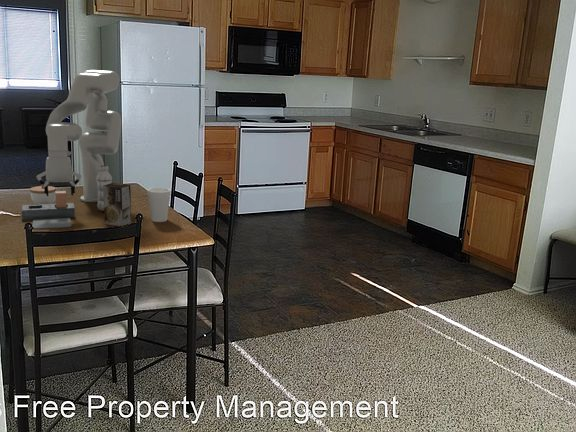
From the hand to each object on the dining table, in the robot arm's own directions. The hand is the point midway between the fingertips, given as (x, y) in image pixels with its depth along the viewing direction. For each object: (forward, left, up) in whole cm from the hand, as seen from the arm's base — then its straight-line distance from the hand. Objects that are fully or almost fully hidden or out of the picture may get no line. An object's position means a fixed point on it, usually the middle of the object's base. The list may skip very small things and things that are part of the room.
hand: (59, 195), depth 239 cm
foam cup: (-38, +15, -9) cm, 42 cm away
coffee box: (-21, +17, -9) cm, 29 cm away
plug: (0, -1, -9) cm, 9 cm away
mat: (+4, +12, -9) cm, 16 cm away
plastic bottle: (-18, -5, -9) cm, 21 cm away
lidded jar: (+7, -20, -9) cm, 23 cm away
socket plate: (+5, -1, -9) cm, 10 cm away
